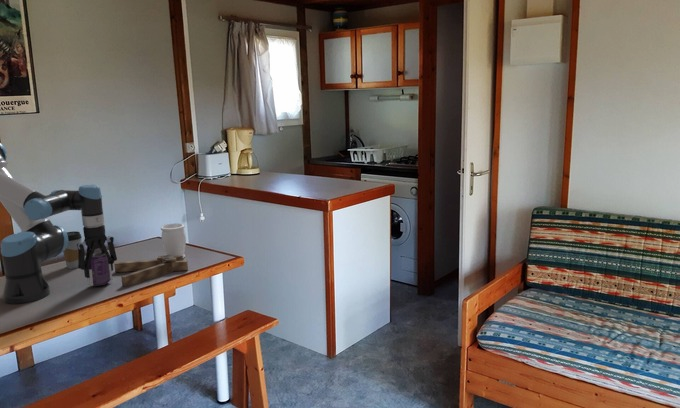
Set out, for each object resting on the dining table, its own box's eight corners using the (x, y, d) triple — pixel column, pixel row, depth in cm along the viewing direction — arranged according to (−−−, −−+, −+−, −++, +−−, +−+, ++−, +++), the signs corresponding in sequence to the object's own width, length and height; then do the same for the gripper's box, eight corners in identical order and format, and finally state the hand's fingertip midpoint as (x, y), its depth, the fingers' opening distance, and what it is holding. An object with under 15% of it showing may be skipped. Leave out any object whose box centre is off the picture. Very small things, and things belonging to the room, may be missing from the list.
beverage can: (98, 279, 211) (94, 251, 208) (114, 280, 209) (110, 251, 207) (86, 286, 204) (82, 256, 202) (102, 287, 203) (99, 257, 200)
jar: (186, 260, 235) (183, 227, 232) (162, 262, 233) (158, 229, 230) (188, 253, 245) (185, 222, 242) (165, 255, 244) (162, 223, 241)
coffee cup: (89, 263, 235) (85, 231, 232) (78, 269, 227) (73, 236, 224) (71, 263, 236) (67, 231, 232) (60, 269, 227) (55, 236, 224)
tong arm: (112, 275, 217) (111, 263, 216) (116, 270, 223) (115, 258, 222) (187, 270, 221) (186, 258, 220) (189, 265, 227) (188, 253, 226)
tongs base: (125, 287, 204) (124, 276, 203) (116, 284, 208) (115, 273, 207) (189, 265, 227) (188, 256, 226) (180, 263, 231) (179, 254, 230)
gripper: (72, 232, 192) (79, 291, 197) (123, 221, 207) (128, 276, 212) (62, 229, 196) (70, 287, 201) (112, 218, 212) (118, 273, 217)
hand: (100, 282), depth 207 cm, fingers closed on beverage can, 7 cm apart
